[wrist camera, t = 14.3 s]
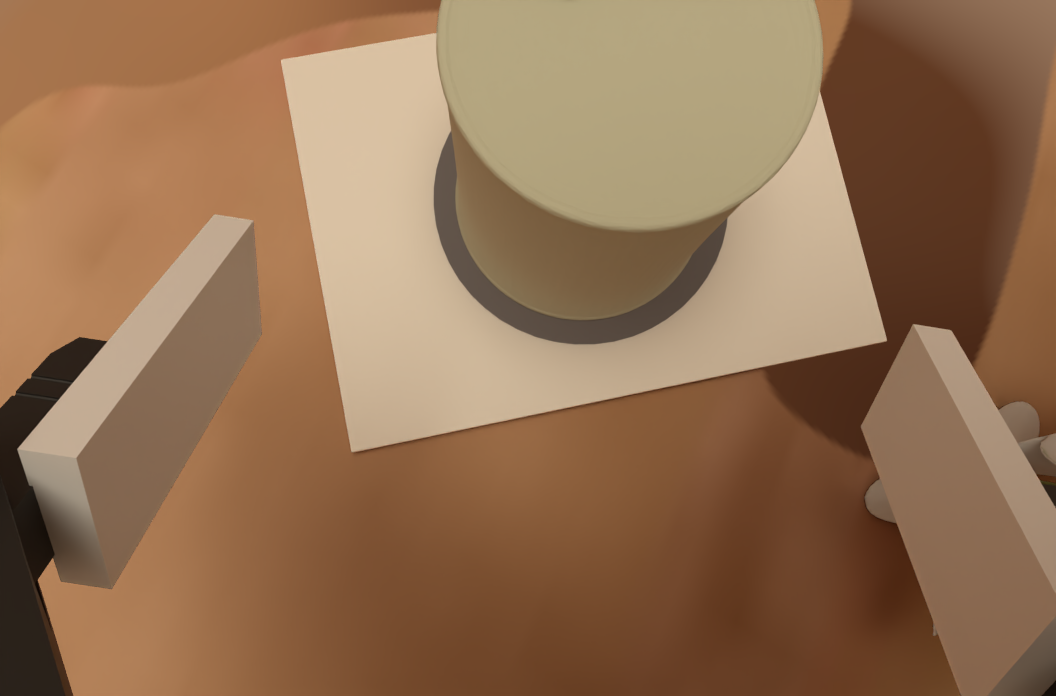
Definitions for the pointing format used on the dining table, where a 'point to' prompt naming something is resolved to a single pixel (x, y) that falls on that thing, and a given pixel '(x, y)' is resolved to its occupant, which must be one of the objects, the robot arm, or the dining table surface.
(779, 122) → the can
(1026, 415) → the flower vase
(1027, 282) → the dining table surface
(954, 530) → the robot arm
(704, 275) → the card
